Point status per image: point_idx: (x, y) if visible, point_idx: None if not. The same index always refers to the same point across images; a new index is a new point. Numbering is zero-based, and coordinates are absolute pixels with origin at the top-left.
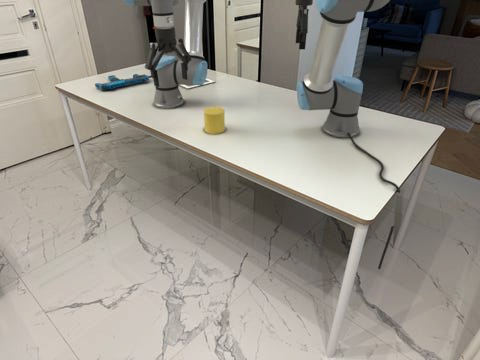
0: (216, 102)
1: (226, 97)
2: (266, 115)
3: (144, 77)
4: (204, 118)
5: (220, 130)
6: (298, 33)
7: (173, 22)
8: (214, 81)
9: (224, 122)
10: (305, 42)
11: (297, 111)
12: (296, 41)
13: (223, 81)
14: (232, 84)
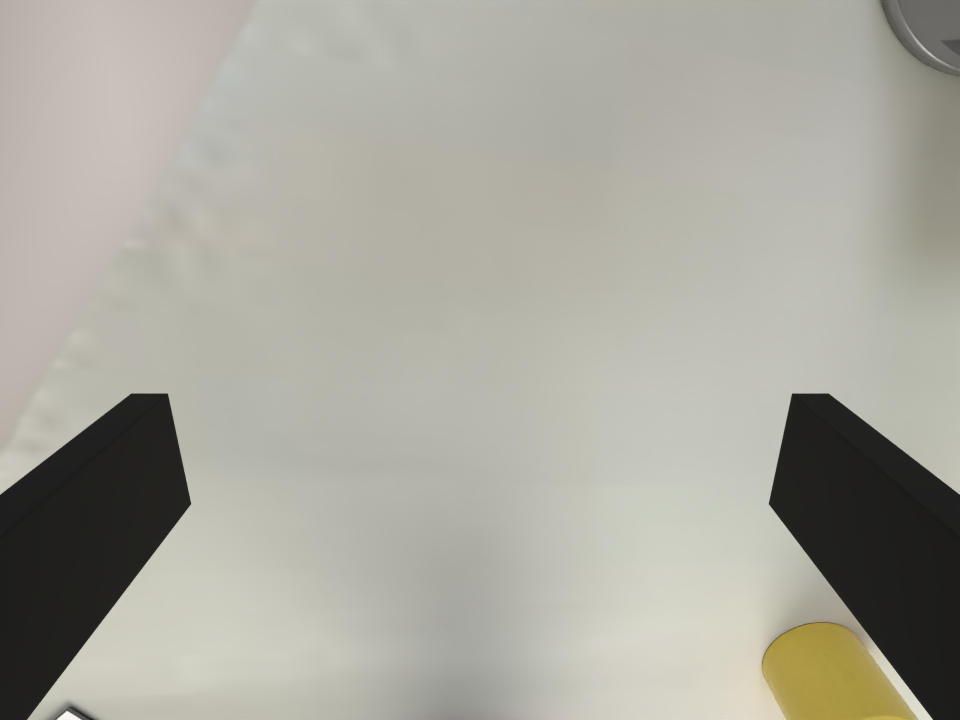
0: (436, 676)
1: (347, 636)
2: (654, 428)
3: None
4: None
5: (864, 647)
6: (41, 625)
7: None
8: (68, 713)
9: (852, 657)
10: (929, 478)
11: (598, 220)
12: (173, 513)
13: None
14: None
